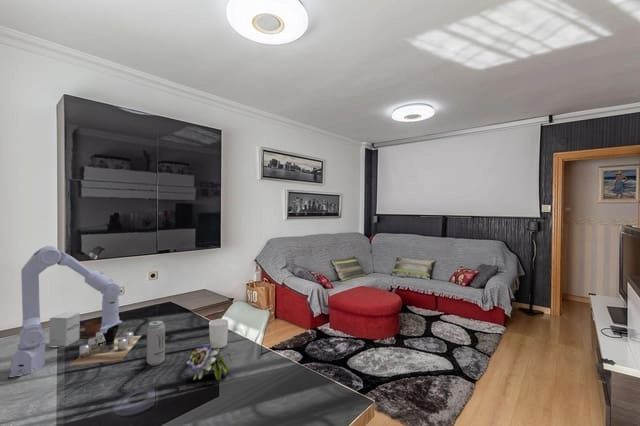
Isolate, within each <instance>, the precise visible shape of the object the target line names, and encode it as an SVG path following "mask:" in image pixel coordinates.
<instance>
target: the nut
mask: <svg viewBox="0 0 640 426" xmlns="http://www.w3.org/2000/svg"><path fill="white" fill-rule="evenodd" d="M112 350H114V342H105V343H103V344H100V352H101V353H104V352H110V351H112Z"/></svg>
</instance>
